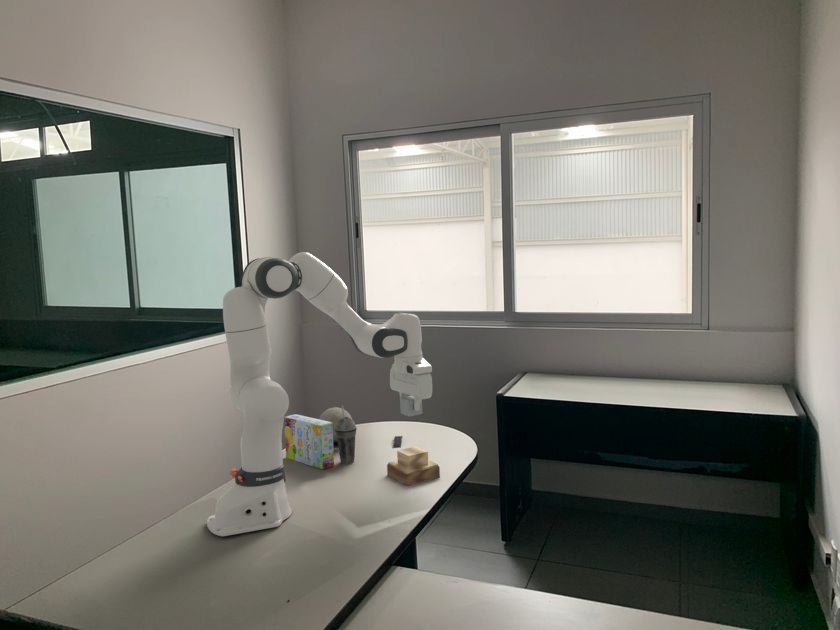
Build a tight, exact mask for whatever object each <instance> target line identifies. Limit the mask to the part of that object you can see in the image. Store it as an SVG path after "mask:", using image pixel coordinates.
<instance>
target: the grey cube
mask: <svg viewBox="0 0 840 630" xmlns="http://www.w3.org/2000/svg"><path fill="white" fill-rule="evenodd" d="M414 402H415V400H414V397H413V396H410V395H407V397H402V398H400V397H399V404H400V405H399V407H400V409H399V411H400V414H401V415H403V416H406V417H413V416H419V415H423V400H422V401H421V403H420V410H418V411H415V410H413V404H414Z"/></svg>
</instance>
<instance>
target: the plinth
mask: <svg viewBox="0 0 840 630" xmlns="http://www.w3.org/2000/svg"><path fill="white" fill-rule="evenodd" d="M440 470H441V469H440V466H439V464H438V463H436V462H434V461H431V460H430V459H428V464H427V465H423V466H418V467H414V468H410V469H409V468H407V467H405V466H403V465H401V464H399V463H398V459H397V460H393V461H389V462H388V463H387V465H386V473H387V476H389V477H390V478H392V479H395V480H396V481H397V482H399V483H402V484H403V485H405V486H410V485H411V486H412V485H414V484H417V483H422V482H425V481H429V480H435V479H437V478H440V477H441V475H440V473H441V471H440Z"/></svg>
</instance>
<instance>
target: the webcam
mask: <svg viewBox="0 0 840 630" xmlns="http://www.w3.org/2000/svg"><path fill="white" fill-rule="evenodd" d="M344 415H345V417H348V418H351V419H352V420H353V421H354V419H353V417H352V415H351V414H350V413H349V411H347V410H346V409H344ZM341 418H343V412H342V407H337V406H336V407H330V408H327V409H326V410H324V411H323V412H322V413H321V415H320V416H319V418H318V419H319V420H324V421H328V422H332V423H333V448H334V453H335V452H339V447H338V440H337V435H336V431H335V429H336V424H337V422H338V421H339V420H340V419H341Z"/></svg>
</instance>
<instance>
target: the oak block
mask: <svg viewBox="0 0 840 630" xmlns="http://www.w3.org/2000/svg"><path fill="white" fill-rule="evenodd" d="M396 453H397V454H396V455H397V460H398V463H399V464H401V465H403V466H405V467H407V468H409V469H410V468H414V467H418V466H423V465H427V464H428V460H429V451H427V450H425V449H423V448H420V447H419V446H411V447H407V448H402V449H397V451H396Z"/></svg>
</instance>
